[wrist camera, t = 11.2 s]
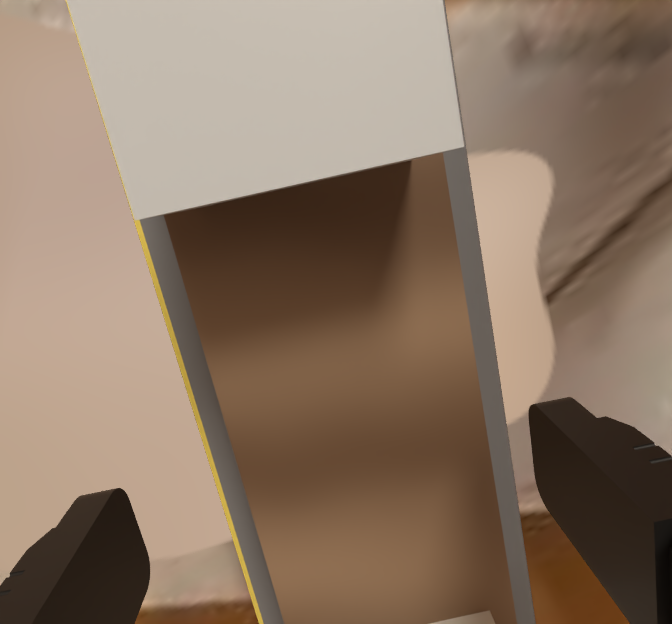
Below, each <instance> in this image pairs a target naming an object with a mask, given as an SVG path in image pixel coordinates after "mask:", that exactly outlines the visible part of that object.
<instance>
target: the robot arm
mask: <svg viewBox="0 0 672 624" xmlns="http://www.w3.org/2000/svg"><path fill="white" fill-rule="evenodd" d="M529 425H530V435H531V445H532V454H533V464H534V473H535V479H536V484H537V487H538V491H539V493H540V496H541V498H542V500H543V503H544V504H545V506H546V508H547V509H548V511H549V512H550V514H551V515H552V516H553V518H554V519H555V520H556V522H557V523H558V525H559V526H560V527H561V529H562V530H563V531H564V533H565V534H566V536H567V537H568V538H569V540H570V541H571V542H572V544H573V545H574V547H575V548H576V549H577V551H578V552H579V553H580V555H581V556H582V558H583V559H584V560H585V562H586V563H587V565H588V566H589V567H590V569H591V570H592V571H593V573H594V574H595V576H596V577H597V578H598V580H599V581H600V582H601V584H602V585H603V587H604V588H605V589H606V591H607V592H608V593H609V595H610V596H611V598H612V599H613V600H614V602H615V603H616V604H617V606H618V607H619V609H620V610H621V611H622V613H623V614H624V615H625V617H626V618H627V620H628V621H629V622H630V624H672V456H671V455H670V454H668V453H667V452H666V451H665V450H663V449H662V448H661V447H659V446H655V444H654V442H653V441H651V440H650V439H649V438H647V437H646V436H645V435H644V434H642V433H641V432H640V431H638V430H637V429H636V428H634V427H632V426H630V425H627V424H624V423H622V422H619V421H617V420H614V419H612V418H609V417H606V416H605V417H601V418H596V417H595V416H594V415H593V414H591V413H590V412H589V411H588V410H587V409H585V408H584V407H583V406H582V405H581V404H579V403H578V402H577V401H576V400H574V399H573V398H571V397H567V398H562V399H557V400H552V401H547V402H542V403H538V404H533V405H531V406H530V408H529ZM149 580H150V562H149V556H148V552H147V550H146V546H145V544H144V541H143V538H142V535H141V532H140V529H139V526H138V524H137V521H136V518H135V515H134V512H133V509H132V506H131V503H130V500H129V498H128V496H127V494H126V492H125V491H124V490H123V489H121V488H117V489H111V490H106V491H101V492H97V493H92V494H87V495H82V496H79V497H78V498H77V499H76V500H75V501H74V503H73V504H72V505H71V507H70V508H69V510H68V511H67V512H66V514H65V515H64V517H63V518H62V519H61V521H60V523H59V524H58V525H57V527H56V528H52V529H51V530H50V531H49V532H48V533H46V534H45V535H44V536H43V537H42V538H41V539H40V540H38V541H37V542H36V543H35V544H34V545H32V546H31V547H30V548H29V549H28V550H27V551H26V552H25V554H24V555H23V556H22V557H21V559H20V560H19V561H18V563H17V564H16V565H15V567H14V568H13V569H12V571H11V572H10V577H8V578H6V579H5V580H4V581H3V583H2V584H1V586H0V624H134V623H135V621H136V618H137V615H138V613H139V610H140V608H141V605H142V602H143V600H144V597H145V595H146V592H147V589H148V585H149Z"/></svg>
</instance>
